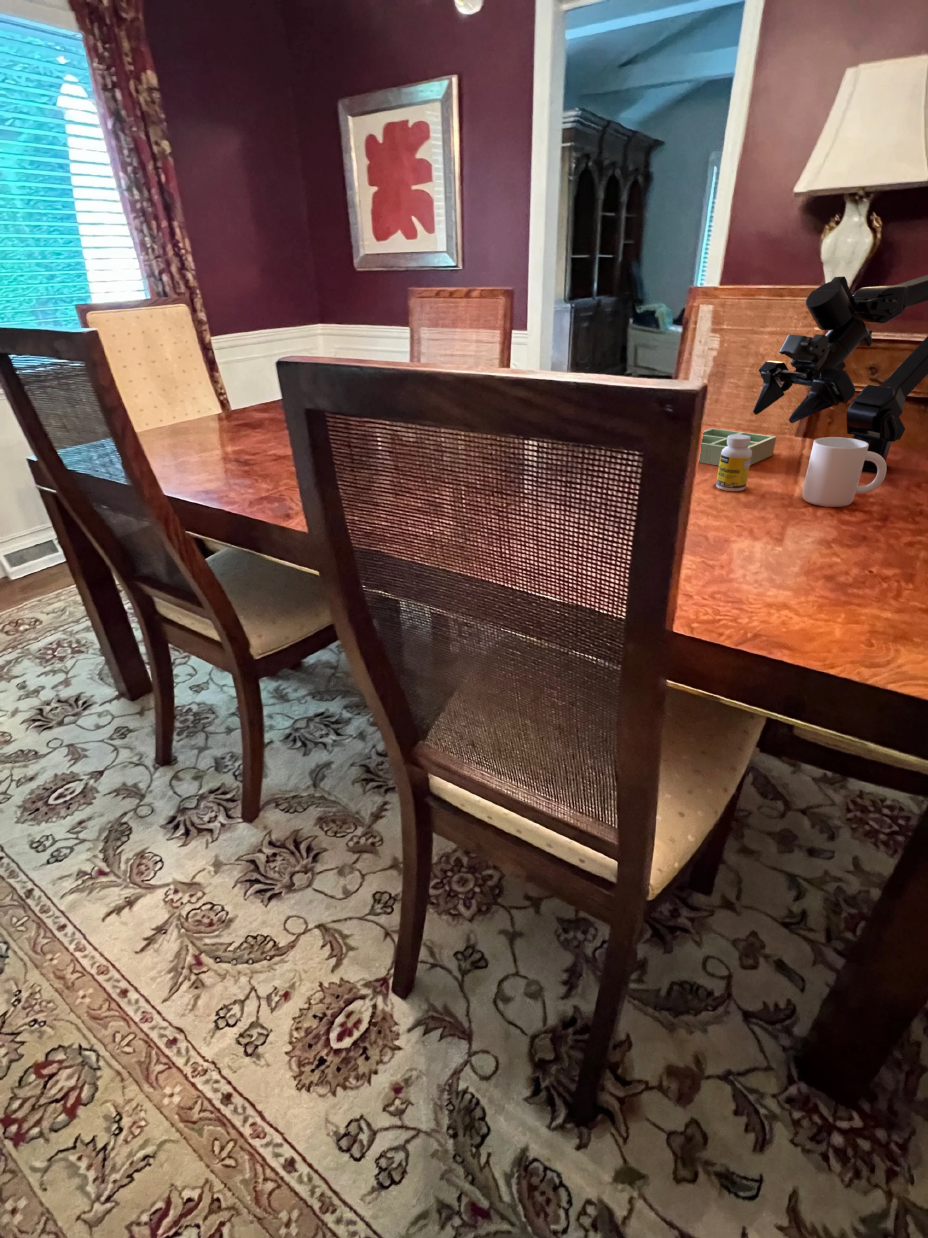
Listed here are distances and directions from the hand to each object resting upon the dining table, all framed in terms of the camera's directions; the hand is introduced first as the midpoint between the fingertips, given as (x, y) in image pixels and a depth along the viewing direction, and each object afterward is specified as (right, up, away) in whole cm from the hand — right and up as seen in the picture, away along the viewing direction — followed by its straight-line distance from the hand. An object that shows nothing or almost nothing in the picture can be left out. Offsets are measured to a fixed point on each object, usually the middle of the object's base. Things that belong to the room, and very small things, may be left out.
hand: (771, 417), depth 115 cm
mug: (+9, -17, -5) cm, 20 cm away
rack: (+1, -1, +24) cm, 25 cm away
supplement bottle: (-6, -13, +4) cm, 14 cm away
